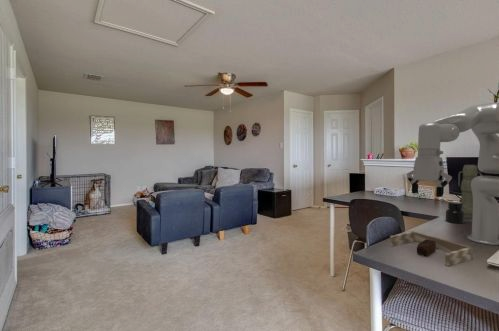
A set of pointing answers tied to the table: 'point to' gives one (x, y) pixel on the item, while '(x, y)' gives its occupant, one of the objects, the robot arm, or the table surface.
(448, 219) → the ink bottle
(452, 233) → the table surface
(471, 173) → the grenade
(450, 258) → the beige u-shaped frame
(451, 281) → the table surface
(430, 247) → the brick
